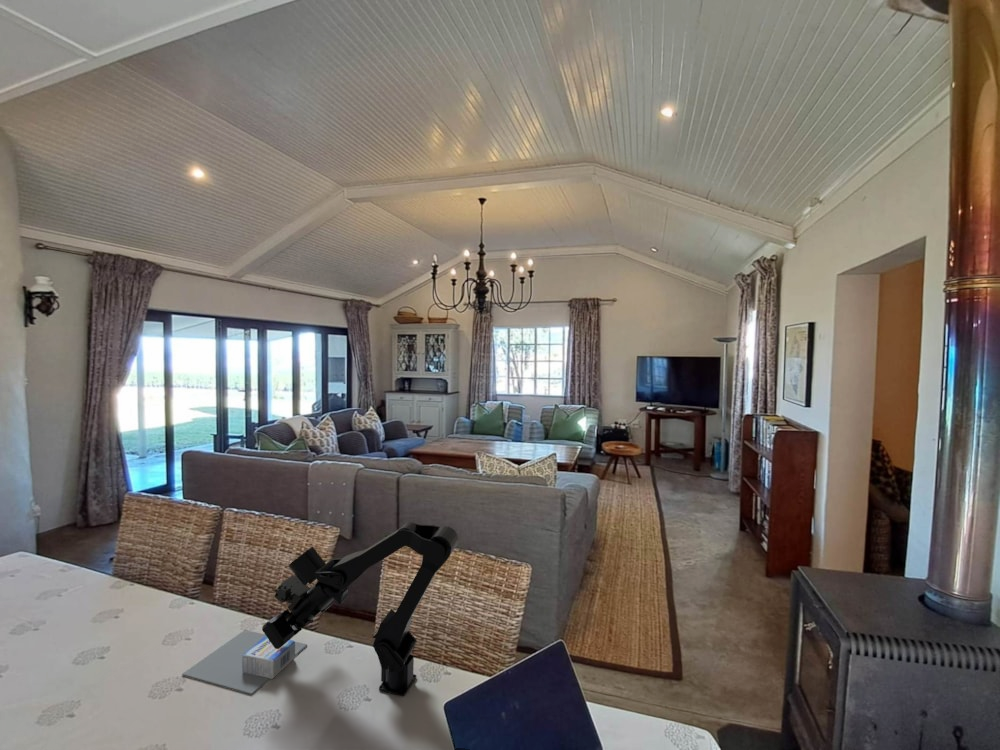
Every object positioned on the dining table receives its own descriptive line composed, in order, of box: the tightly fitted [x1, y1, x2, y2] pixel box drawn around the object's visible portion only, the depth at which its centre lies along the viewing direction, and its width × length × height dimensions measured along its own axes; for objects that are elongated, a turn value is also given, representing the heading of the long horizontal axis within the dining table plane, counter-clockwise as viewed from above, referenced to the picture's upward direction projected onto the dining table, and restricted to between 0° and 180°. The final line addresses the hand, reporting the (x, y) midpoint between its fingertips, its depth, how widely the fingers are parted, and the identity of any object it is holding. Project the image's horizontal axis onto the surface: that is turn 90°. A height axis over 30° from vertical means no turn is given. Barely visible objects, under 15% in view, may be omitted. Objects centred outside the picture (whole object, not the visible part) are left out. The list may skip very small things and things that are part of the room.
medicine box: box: [242, 636, 296, 679], centre depth 109 cm, size 8×4×9 cm
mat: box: [181, 629, 308, 696], centre depth 111 cm, size 20×18×1 cm
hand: (280, 633), depth 111 cm, fingers closed
